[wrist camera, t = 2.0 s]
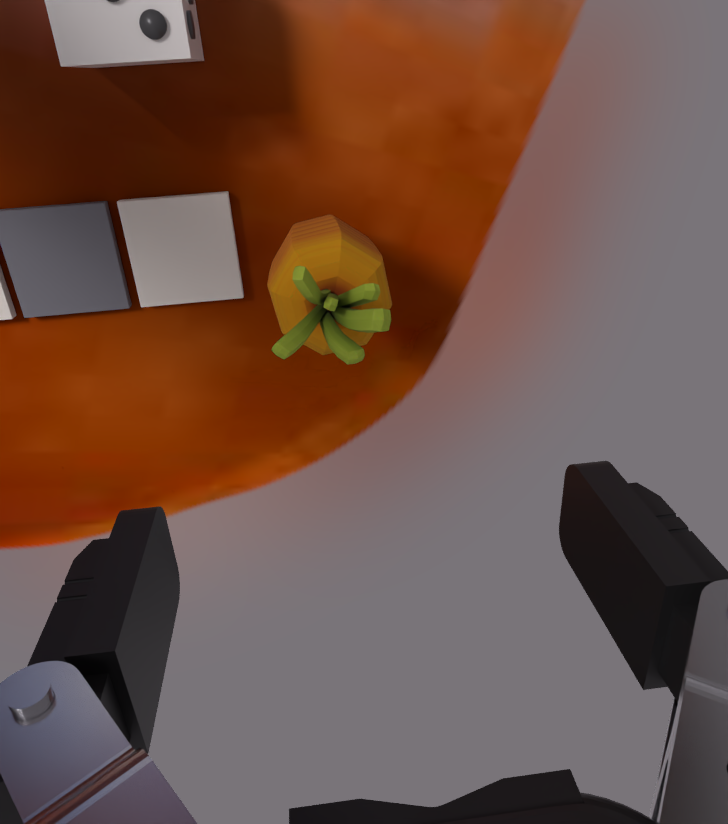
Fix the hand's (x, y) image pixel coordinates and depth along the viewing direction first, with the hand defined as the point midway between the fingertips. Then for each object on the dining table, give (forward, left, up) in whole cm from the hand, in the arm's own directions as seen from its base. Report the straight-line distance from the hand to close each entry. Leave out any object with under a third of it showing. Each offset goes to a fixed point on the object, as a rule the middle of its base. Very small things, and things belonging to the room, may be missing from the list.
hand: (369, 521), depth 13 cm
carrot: (0, 0, -24) cm, 24 cm away
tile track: (0, -16, -24) cm, 29 cm away
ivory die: (-11, -7, -24) cm, 28 cm away
